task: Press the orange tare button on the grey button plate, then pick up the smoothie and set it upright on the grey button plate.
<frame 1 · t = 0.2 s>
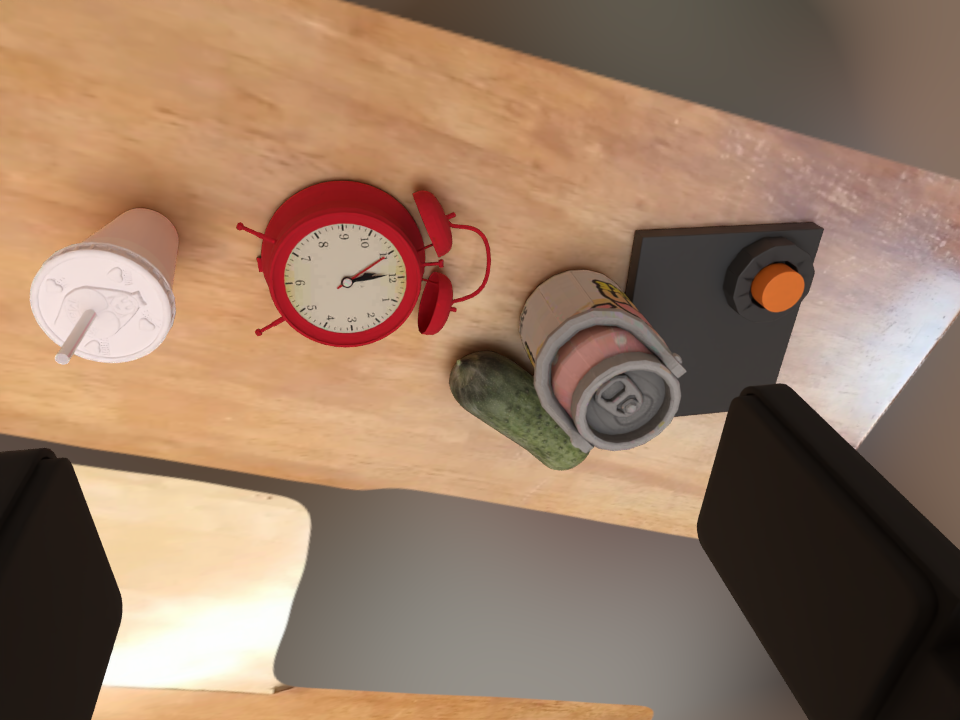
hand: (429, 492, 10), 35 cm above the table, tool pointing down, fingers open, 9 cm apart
vegetable: (514, 390, 53), on the table
grey button plate: (703, 323, 53), on the table
smoothie: (147, 235, 41), on the table
tare button: (777, 287, 48), point 3 cm above the table, slide at 0.1 cm
alarm clock: (370, 254, 45), on the table
beverage can: (563, 309, 50), on the table
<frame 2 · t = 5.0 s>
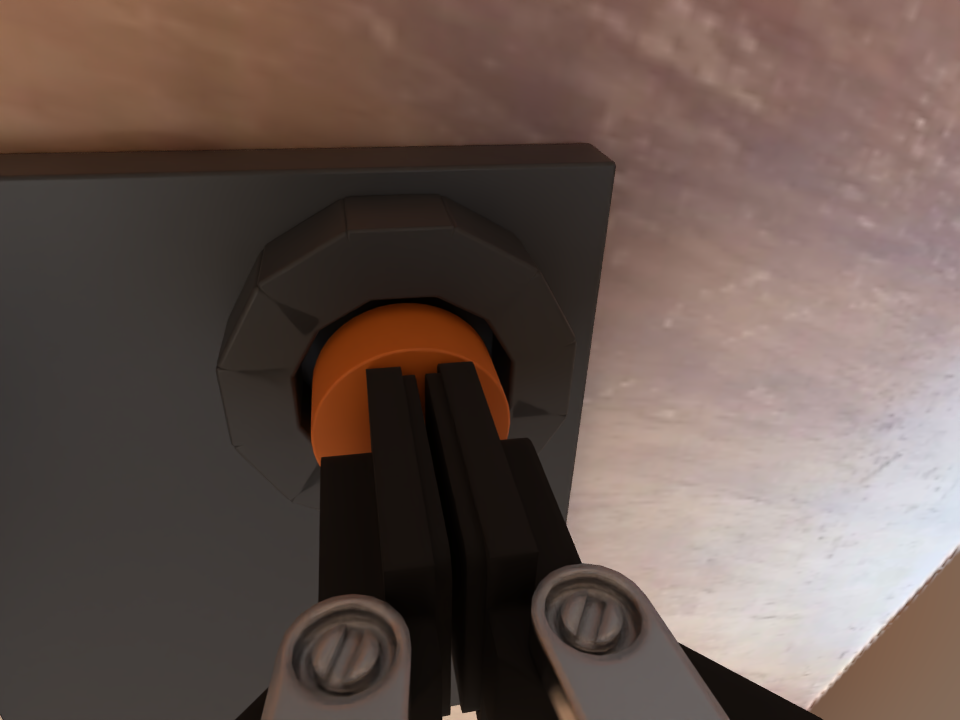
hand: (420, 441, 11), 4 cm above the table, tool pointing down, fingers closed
grey button plate: (273, 488, 16), on the table
tare button: (408, 406, 11), point 3 cm above the table, slide at 0.1 cm, touching gripper
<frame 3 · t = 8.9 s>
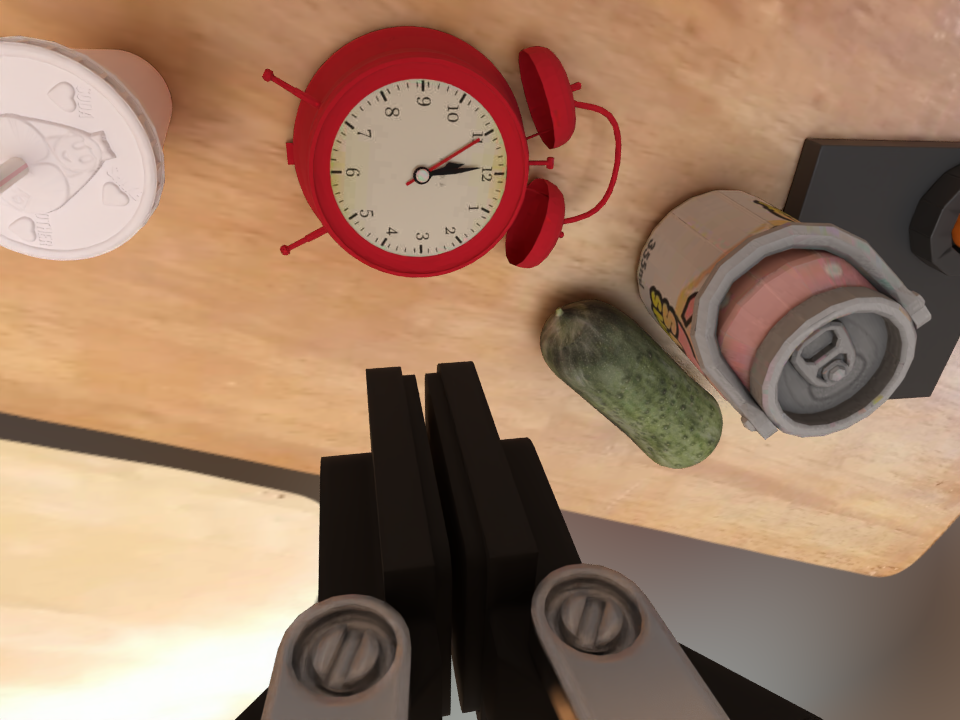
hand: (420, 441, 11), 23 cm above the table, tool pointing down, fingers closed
vegetable: (615, 359, 39), on the table
grey button plate: (867, 278, 40), on the table
smoothie: (125, 97, 28), on the table
alarm clock: (446, 150, 31), on the table
beverage can: (694, 249, 37), on the table
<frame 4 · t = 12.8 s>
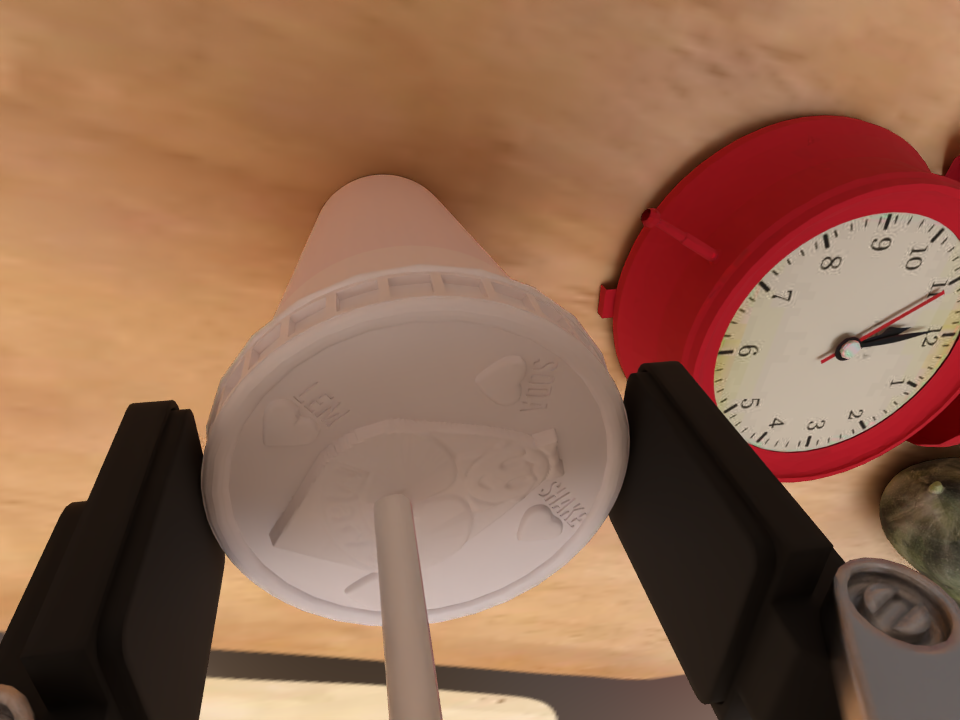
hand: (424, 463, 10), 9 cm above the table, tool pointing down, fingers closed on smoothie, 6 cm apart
vegetable: (945, 514, 30), on the table
smoothie: (384, 240, 18), on the table, touching gripper
alarm clock: (811, 279, 21), on the table
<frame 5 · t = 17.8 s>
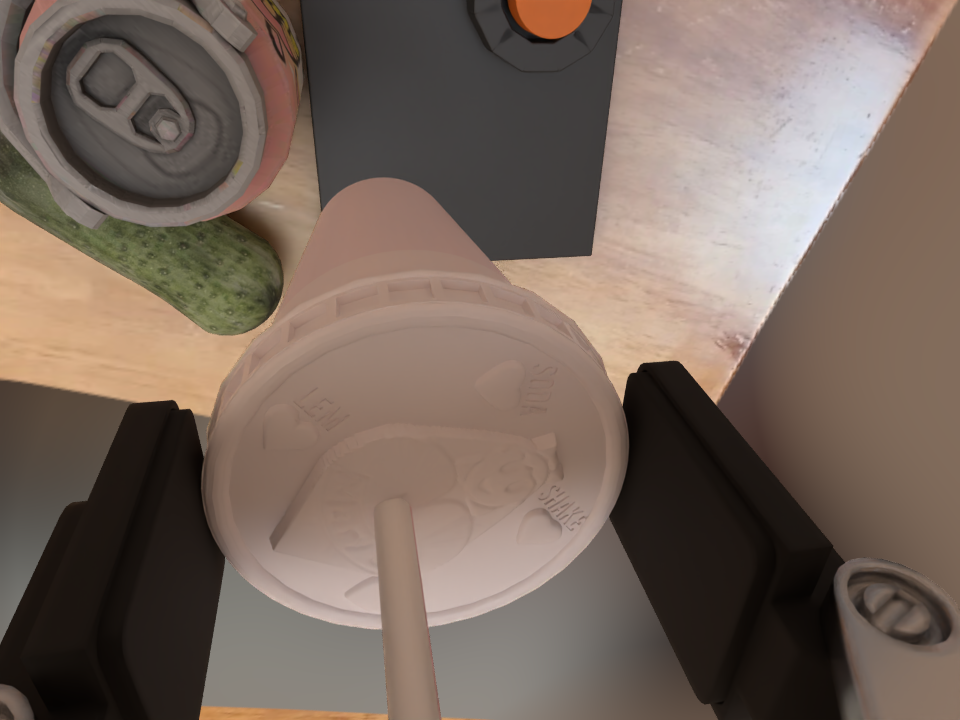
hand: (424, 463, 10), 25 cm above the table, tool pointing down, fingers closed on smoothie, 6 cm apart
vegetable: (152, 204, 32), on the table
grey button plate: (461, 95, 32), on the table
smoothie: (384, 242, 18), point 16 cm above the table, touching gripper
beverage can: (197, 48, 29), on the table
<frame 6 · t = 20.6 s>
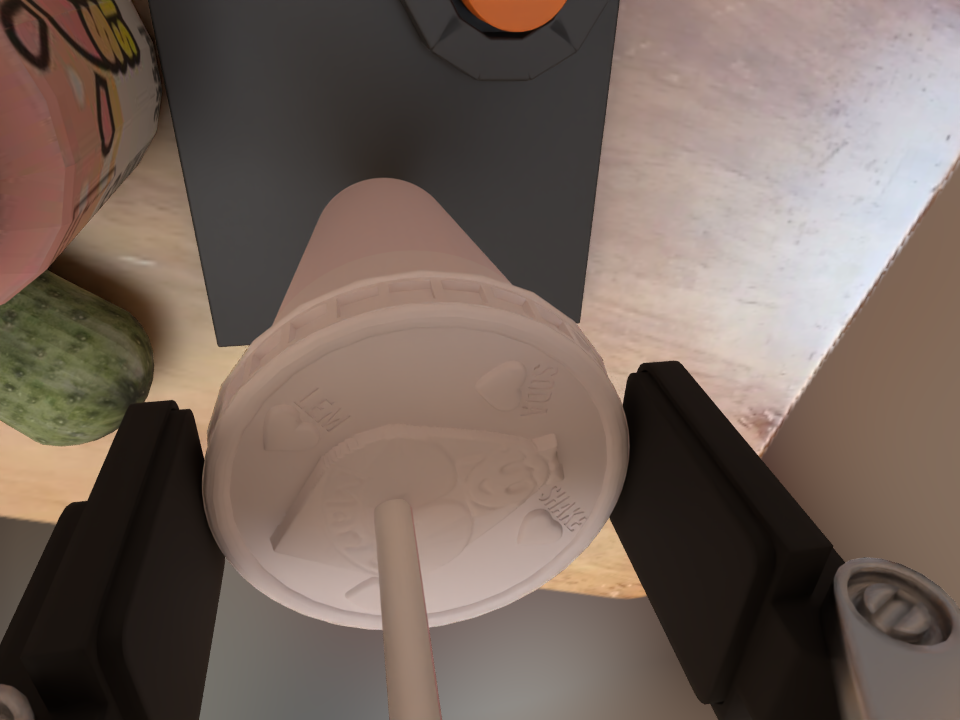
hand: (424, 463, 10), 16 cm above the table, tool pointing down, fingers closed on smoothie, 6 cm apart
grey button plate: (397, 111, 23), on the table
smoothie: (384, 243, 18), point 7 cm above the table, touching gripper
beverage can: (5, 44, 20), on the table
when the fingers open (10 cm above the table, at t = 22.8 s): smoothie stays where it is, resting on grey button plate.
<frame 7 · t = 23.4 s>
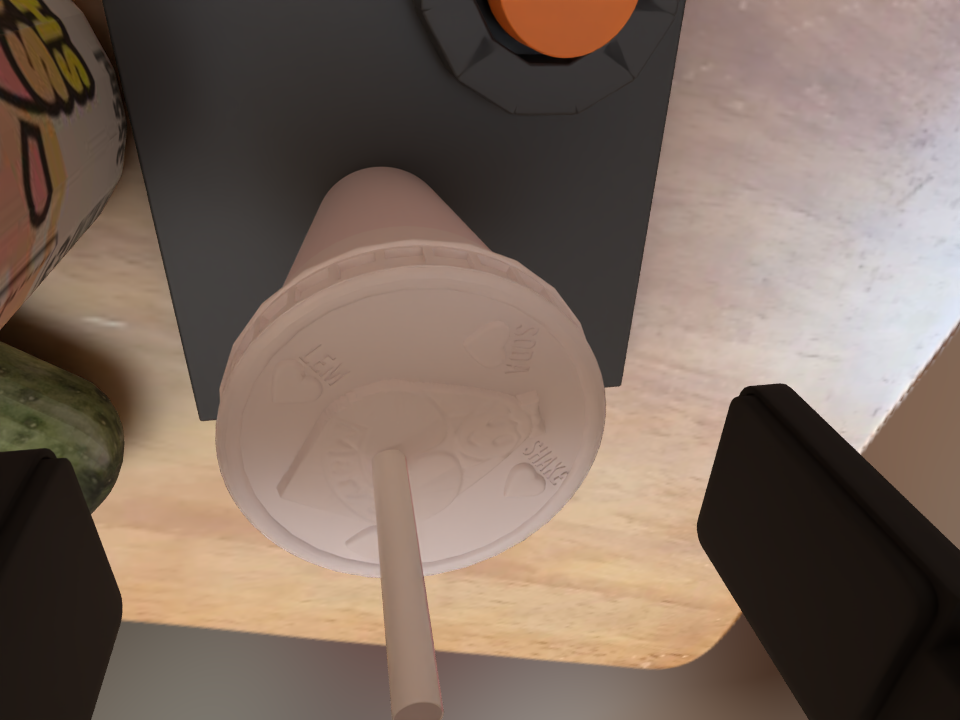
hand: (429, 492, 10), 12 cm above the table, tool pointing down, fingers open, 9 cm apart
grey button plate: (412, 147, 19), on the table
smoothie: (382, 229, 19), point 1 cm above the table, touching grey button plate
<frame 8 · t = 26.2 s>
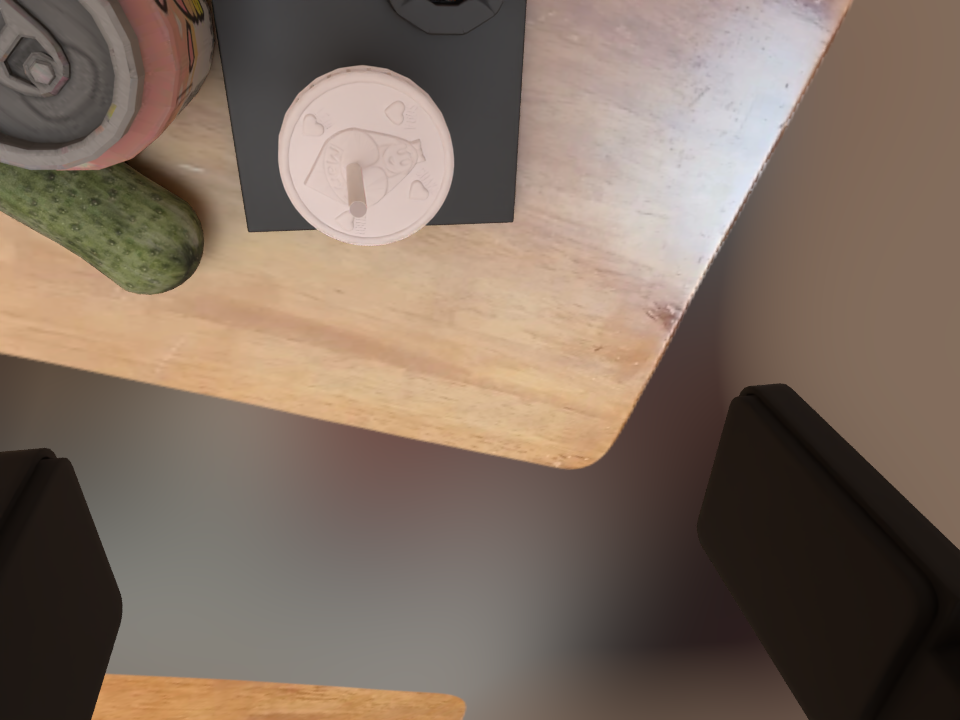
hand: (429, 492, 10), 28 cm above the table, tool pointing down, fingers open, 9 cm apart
vegetable: (73, 165, 33), on the table
grey button plate: (376, 60, 32), on the table
smoothie: (358, 108, 32), point 1 cm above the table, touching grey button plate
beverage can: (109, 9, 30), on the table
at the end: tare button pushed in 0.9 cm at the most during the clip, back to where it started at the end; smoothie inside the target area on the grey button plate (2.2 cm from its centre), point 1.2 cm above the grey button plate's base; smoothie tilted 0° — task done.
